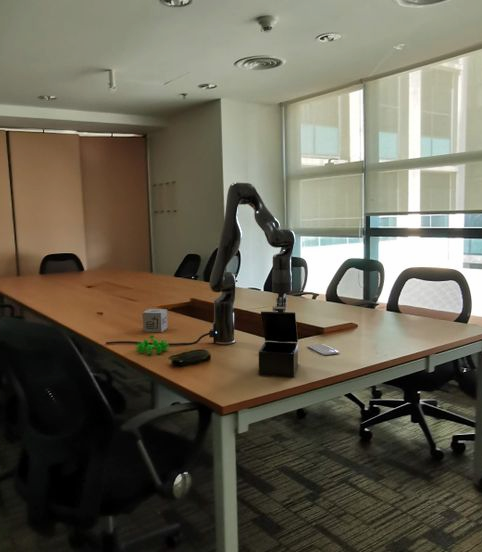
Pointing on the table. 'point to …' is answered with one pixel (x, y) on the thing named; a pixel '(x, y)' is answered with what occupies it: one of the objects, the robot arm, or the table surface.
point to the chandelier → (152, 346)
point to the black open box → (278, 359)
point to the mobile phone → (323, 349)
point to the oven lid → (279, 325)
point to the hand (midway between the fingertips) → (282, 324)
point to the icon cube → (155, 320)
